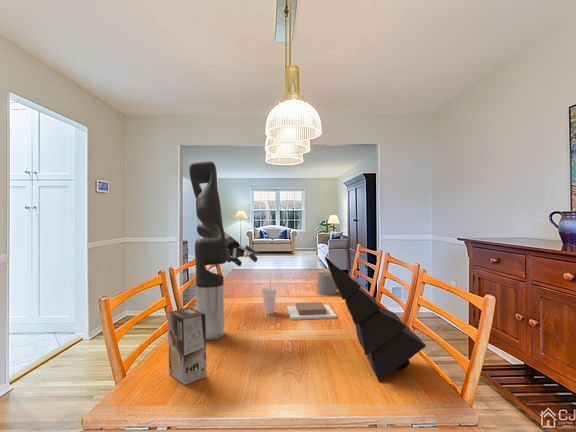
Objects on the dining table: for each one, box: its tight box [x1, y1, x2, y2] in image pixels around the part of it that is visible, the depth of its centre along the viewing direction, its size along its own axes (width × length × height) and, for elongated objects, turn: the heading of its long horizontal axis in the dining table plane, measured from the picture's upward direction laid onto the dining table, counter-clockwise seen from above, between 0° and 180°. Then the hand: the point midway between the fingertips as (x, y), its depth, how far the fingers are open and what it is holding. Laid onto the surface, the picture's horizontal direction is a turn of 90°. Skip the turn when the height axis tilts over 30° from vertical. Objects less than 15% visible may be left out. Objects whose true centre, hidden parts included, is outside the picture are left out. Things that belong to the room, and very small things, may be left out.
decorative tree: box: [324, 256, 427, 382], centre depth 88 cm, size 15×15×35 cm
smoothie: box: [261, 278, 278, 315], centre depth 139 cm, size 6×6×14 cm
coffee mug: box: [316, 271, 338, 296], centre depth 173 cm, size 13×10×10 cm
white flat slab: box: [286, 301, 337, 321], centre depth 138 cm, size 16×18×3 cm
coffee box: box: [167, 307, 207, 386], centre depth 85 cm, size 9×6×16 cm
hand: (248, 262), depth 141 cm, fingers open, 8 cm apart
